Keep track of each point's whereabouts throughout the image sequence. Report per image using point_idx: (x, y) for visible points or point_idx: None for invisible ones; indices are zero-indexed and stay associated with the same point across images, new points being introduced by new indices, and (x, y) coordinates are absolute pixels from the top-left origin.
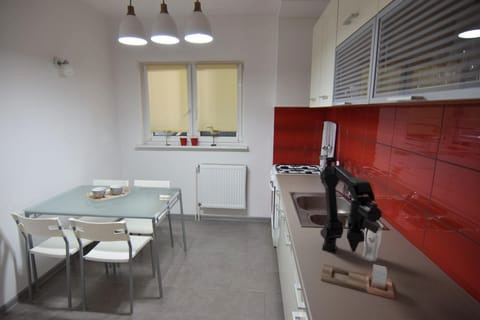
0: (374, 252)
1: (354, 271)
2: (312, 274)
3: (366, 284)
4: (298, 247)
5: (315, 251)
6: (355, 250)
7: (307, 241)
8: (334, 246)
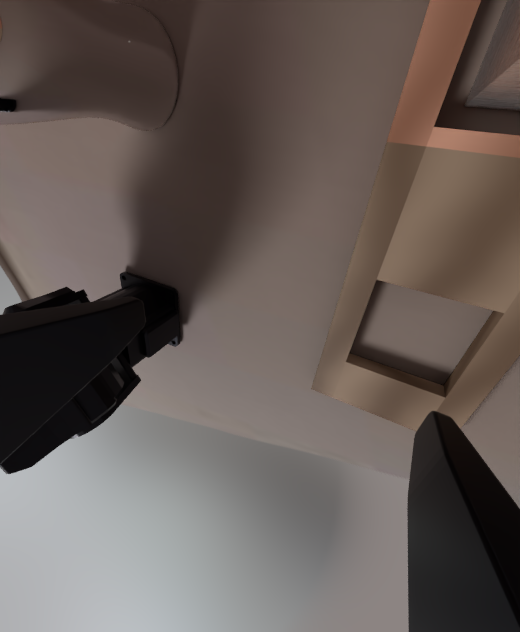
0: (104, 14)
1: (359, 236)
2: (394, 445)
3: None
4: (201, 421)
5: (203, 373)
6: (470, 443)
7: (148, 379)
8: (147, 303)
